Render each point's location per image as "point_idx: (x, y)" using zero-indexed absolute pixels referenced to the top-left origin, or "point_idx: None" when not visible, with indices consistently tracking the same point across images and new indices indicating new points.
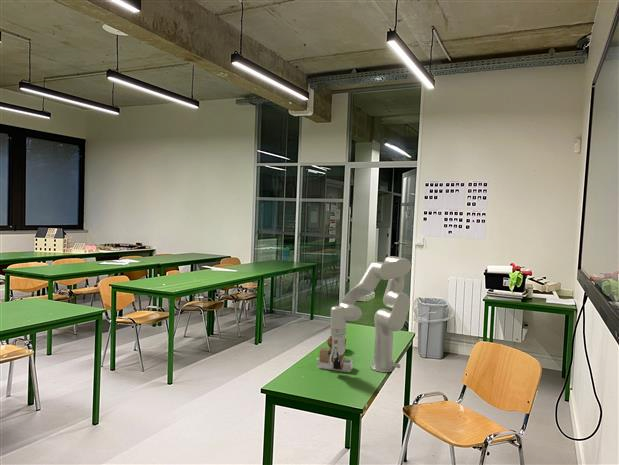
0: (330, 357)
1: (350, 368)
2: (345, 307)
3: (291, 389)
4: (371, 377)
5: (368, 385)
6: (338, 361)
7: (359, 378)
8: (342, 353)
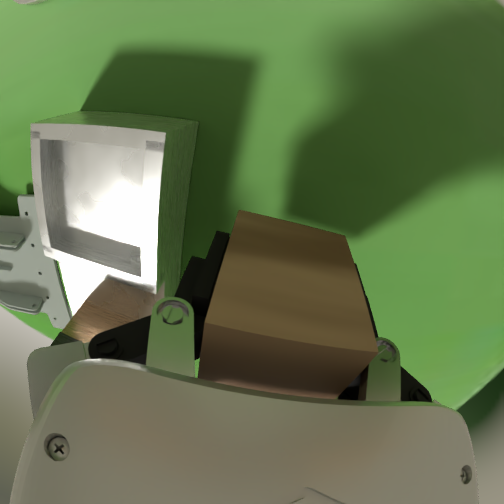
0: (23, 271)
1: (158, 120)
2: None
3: (452, 397)
4: None
5: (479, 21)
6: (387, 347)
7: (347, 37)
8: (416, 428)
